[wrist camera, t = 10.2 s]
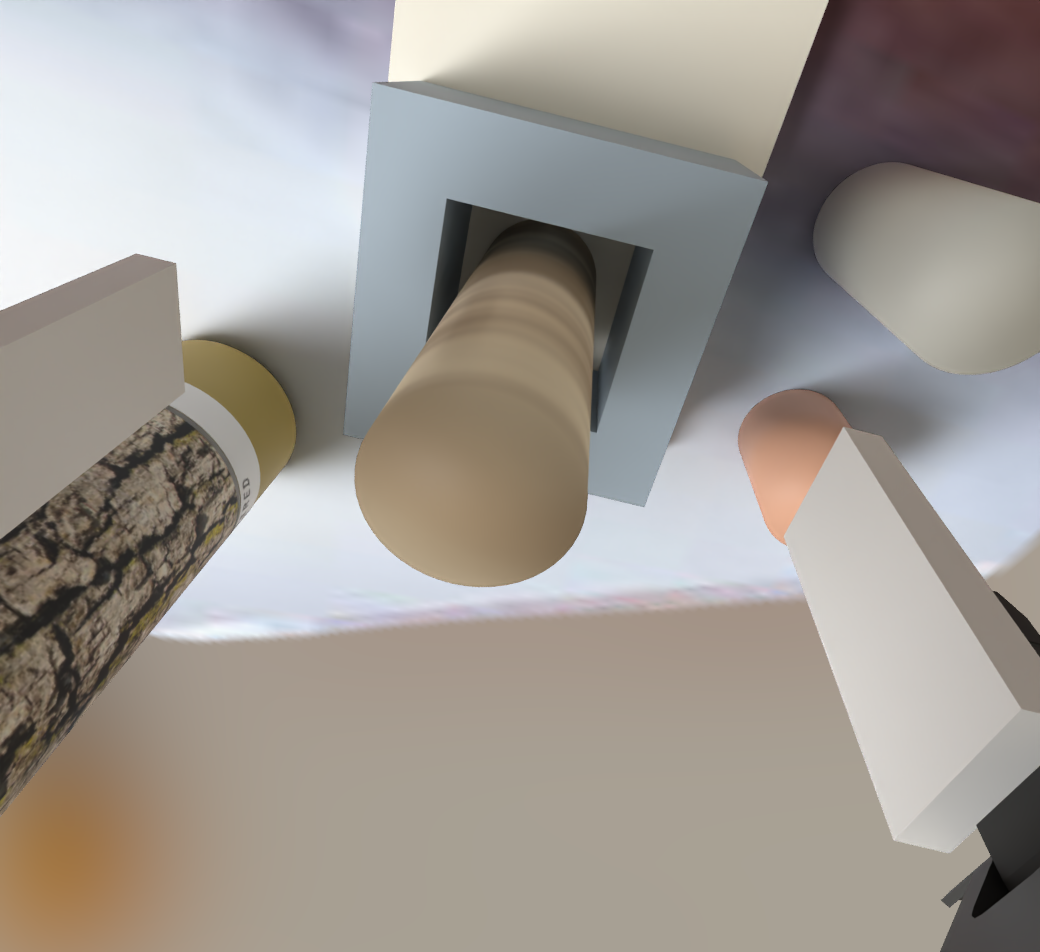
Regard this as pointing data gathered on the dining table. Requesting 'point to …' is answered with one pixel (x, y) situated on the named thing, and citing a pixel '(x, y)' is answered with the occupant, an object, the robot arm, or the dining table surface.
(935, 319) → the medium dowel
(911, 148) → the dining table surface
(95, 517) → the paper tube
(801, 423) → the short dowel
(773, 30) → the socket board
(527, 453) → the long dowel
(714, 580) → the dining table surface
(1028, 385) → the dining table surface
